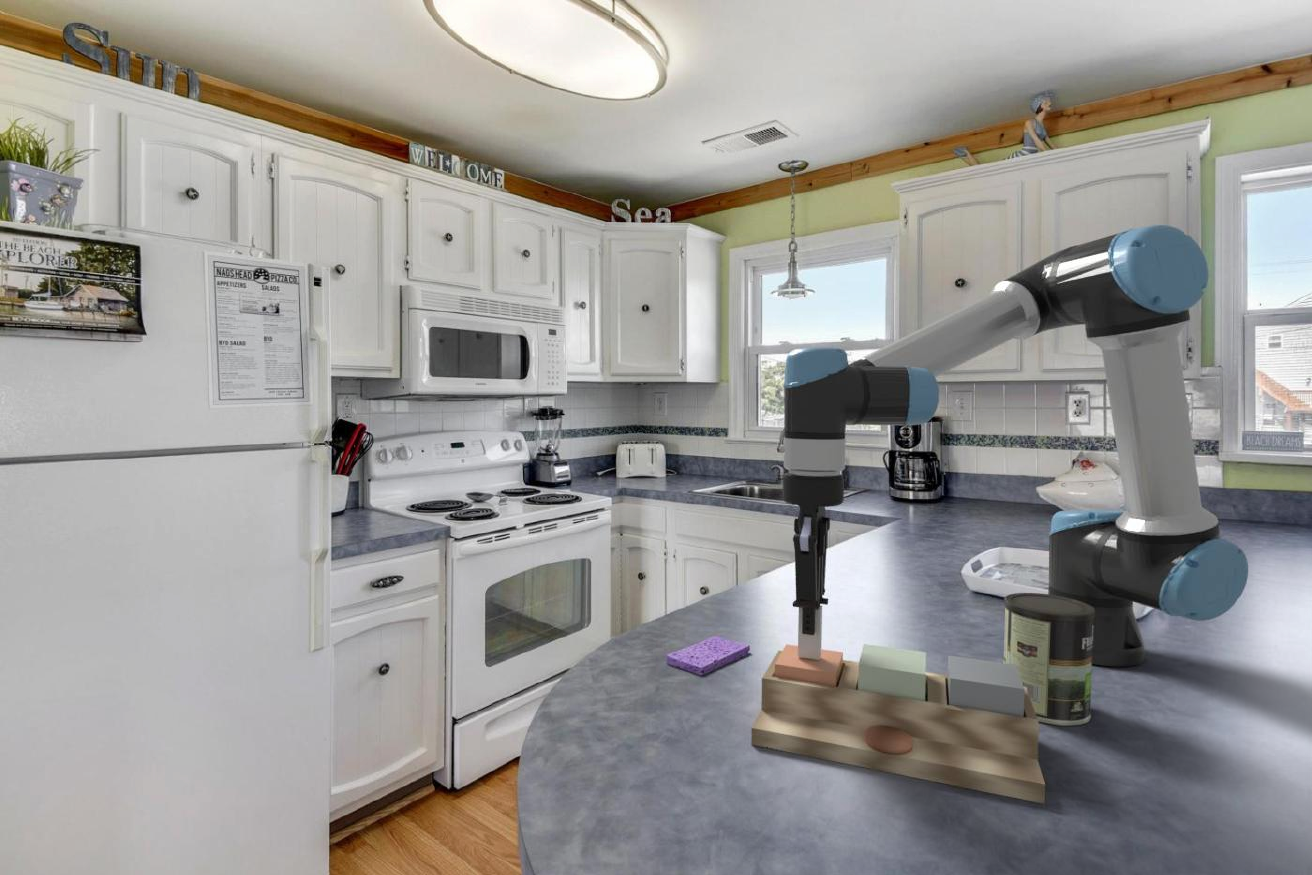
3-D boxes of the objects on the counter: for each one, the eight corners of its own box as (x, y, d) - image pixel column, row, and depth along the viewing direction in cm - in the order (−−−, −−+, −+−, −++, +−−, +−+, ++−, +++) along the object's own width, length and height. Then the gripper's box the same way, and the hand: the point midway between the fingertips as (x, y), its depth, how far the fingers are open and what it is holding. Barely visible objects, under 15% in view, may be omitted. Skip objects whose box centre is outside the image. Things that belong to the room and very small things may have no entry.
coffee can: (1089, 702, 90) (1094, 599, 89) (1091, 734, 81) (1096, 620, 81) (1004, 685, 95) (1007, 587, 95) (997, 713, 87) (1000, 606, 86)
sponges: (665, 666, 102) (665, 654, 102) (715, 644, 112) (715, 633, 112) (701, 679, 98) (701, 667, 98) (750, 655, 107) (750, 644, 107)
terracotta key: (842, 689, 88) (842, 652, 87) (834, 714, 81) (835, 673, 80) (785, 680, 90) (786, 644, 90) (774, 703, 83) (774, 663, 83)
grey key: (1014, 705, 80) (1016, 664, 80) (1022, 733, 73) (1024, 689, 73) (947, 695, 83) (948, 655, 82) (949, 721, 76) (950, 678, 76)
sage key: (924, 691, 84) (925, 652, 83) (924, 717, 77) (925, 674, 77) (863, 681, 86) (864, 643, 86) (857, 705, 80) (858, 664, 79)
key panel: (1024, 735, 81) (1026, 686, 81) (1044, 803, 67) (1046, 745, 67) (777, 693, 92) (778, 650, 92) (751, 744, 78) (752, 694, 78)
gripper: (793, 466, 91) (789, 635, 93) (772, 475, 79) (769, 670, 81) (849, 468, 89) (845, 643, 90) (837, 478, 77) (833, 680, 78)
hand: (809, 656), depth 85 cm, fingers closed
